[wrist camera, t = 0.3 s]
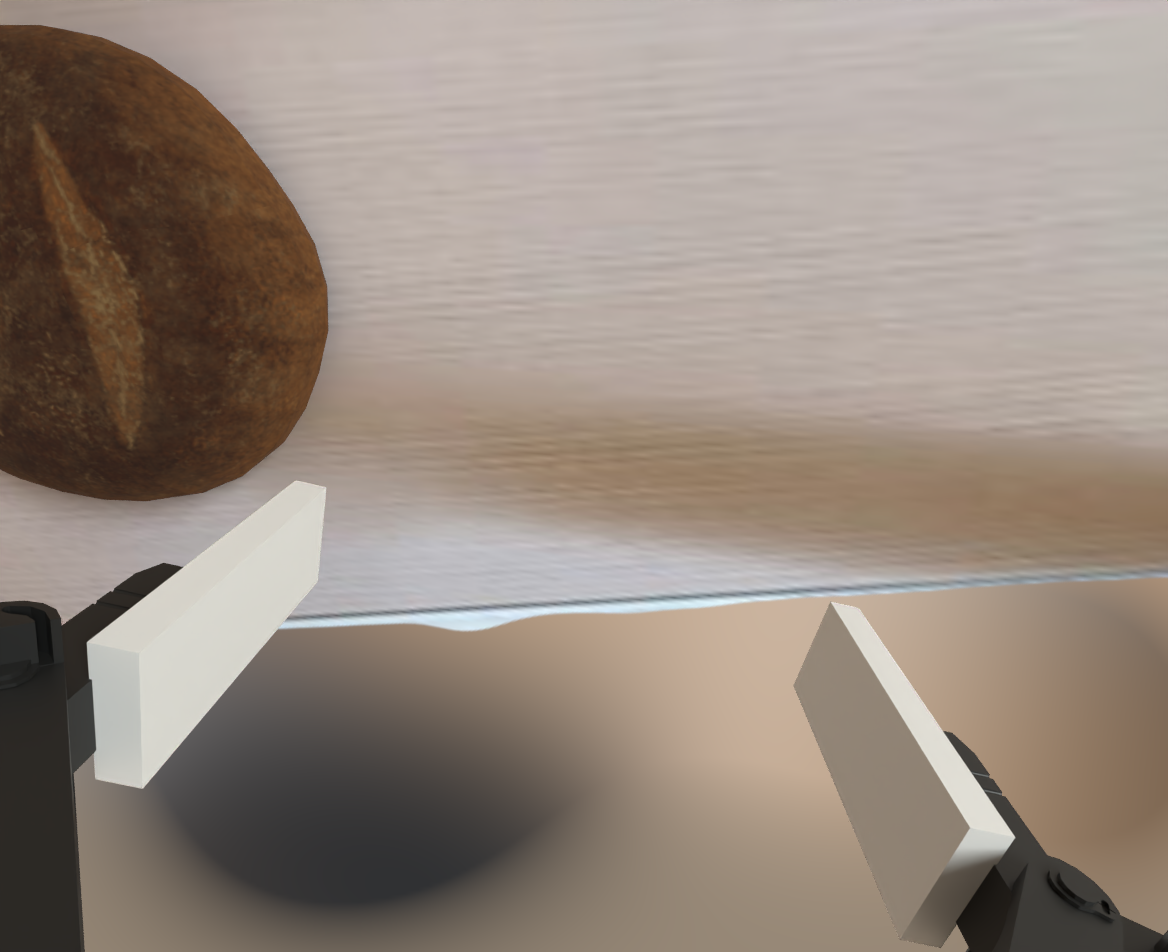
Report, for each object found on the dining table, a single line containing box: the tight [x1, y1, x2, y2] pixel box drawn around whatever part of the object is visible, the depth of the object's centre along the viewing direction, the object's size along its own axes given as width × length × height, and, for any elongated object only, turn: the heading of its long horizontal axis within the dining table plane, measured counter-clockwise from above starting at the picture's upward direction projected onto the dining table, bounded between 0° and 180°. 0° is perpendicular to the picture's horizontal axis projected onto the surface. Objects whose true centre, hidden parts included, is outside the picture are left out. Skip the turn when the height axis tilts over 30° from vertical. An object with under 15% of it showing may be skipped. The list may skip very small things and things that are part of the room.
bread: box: [0, 25, 328, 501], centre depth 37 cm, size 28×27×9 cm
